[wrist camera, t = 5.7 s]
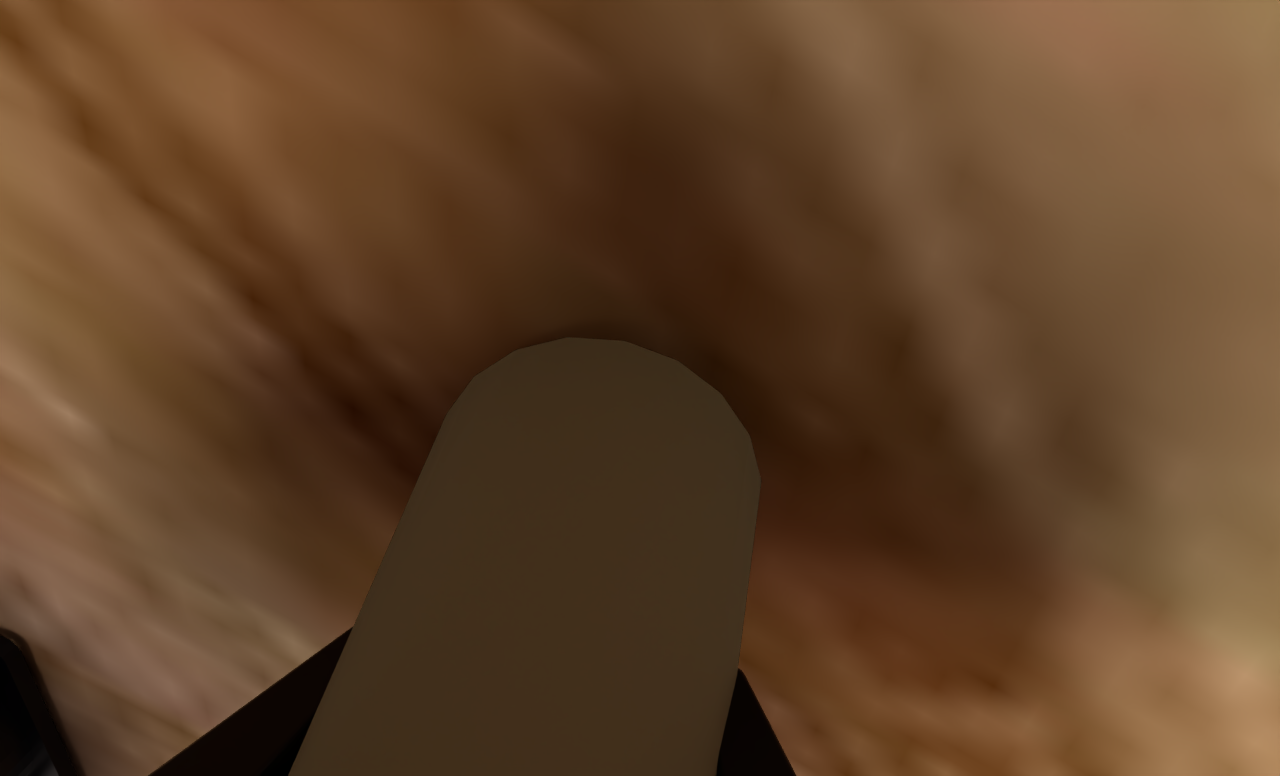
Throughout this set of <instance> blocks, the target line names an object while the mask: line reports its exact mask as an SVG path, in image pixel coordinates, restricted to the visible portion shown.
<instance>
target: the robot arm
mask: <svg viewBox="0 0 1280 776" xmlns="http://www.w3.org/2000/svg"><path fill="white" fill-rule="evenodd" d="M352 629H353V627H352V628H350V629H349V630H347V631H346V632H345V633H343V634H342V635H341V636H339V637H338V638H336V639H335V640H334V641H332V642H331V643H330V644H328V645H327V646H325V647H324V648H323V649H321V650H320V651H319V652H317V653H316V654H314V655H313V656H312V657H310V658H309V659H308V660H306V661H305V662H303V663H302V664H301V665H299V666H298V667H297V668H295V669H294V670H292V671H291V672H290V673H288V674H287V675H286V676H284V677H283V678H281V679H280V680H279V681H277V682H276V683H275V684H273V685H272V686H270V687H269V688H268V689H266V690H265V691H264V692H262V693H261V694H259V695H258V696H257V697H255V698H254V699H253V700H251V701H250V702H248V703H247V704H246V705H244V706H243V707H242V708H240V709H239V710H238V711H236V712H235V713H233V714H232V715H231V716H229V717H228V718H227V719H225V720H224V721H222V722H221V723H220V724H218V725H217V726H216V727H214V728H213V729H211V730H210V731H209V732H207V733H206V734H205V735H203V736H202V737H200V738H199V739H198V740H196V741H195V742H194V743H192V744H191V745H189V746H188V747H187V748H185V749H184V750H183V751H181V752H180V753H178V754H177V755H176V756H174V757H173V758H172V759H170V760H169V761H167V762H166V763H165V764H163V765H162V766H161V767H159V768H158V769H156V770H155V771H154V772H152V773H151V774H150V775H148V776H288V775H289V772H290V770H291V768H292V765H293V763H294V761H295V759H296V756H297V754H298V752H299V750H300V747H301V745H302V743H303V740H304V738H305V736H306V734H307V731H308V729H309V727H310V724H311V722H312V720H313V718H314V715H315V713H316V711H317V708H318V706H319V704H320V702H321V699H322V697H323V695H324V692H325V690H326V688H327V686H328V683H329V681H330V679H331V676H332V674H333V672H334V670H335V667H336V665H337V663H338V661H339V658H340V656H341V654H342V651H343V649H344V647H345V645H346V642H347V640H348V638H349V635H350V633H351V631H352ZM0 776H77V775H76V773H75V770H74V768H73V766H72V764H71V762H70V759H69V757H68V755H67V753H66V751H65V748H64V746H63V744H62V742H61V739H60V737H59V735H58V733H57V731H56V728H55V726H54V724H53V722H52V720H51V717H50V715H49V713H48V711H47V709H46V706H45V704H44V702H43V700H42V698H41V695H40V693H39V691H38V689H37V687H36V684H35V682H34V680H33V678H32V676H31V673H30V671H29V669H28V667H27V665H26V662H25V660H24V658H23V656H22V654H21V651H20V650H19V648H18V647H17V646H16V645H15V644H14V643H13V642H12V641H10V640H9V639H7V638H5V637H3V636H0ZM716 776H796V774H795V772H794V770H793V768H792V766H791V764H790V762H789V760H788V758H787V756H786V754H785V753H784V751H783V749H782V747H781V745H780V743H779V741H778V739H777V737H776V735H775V733H774V731H773V729H772V727H771V725H770V723H769V721H768V719H767V717H766V715H765V713H764V711H763V710H762V708H761V706H760V704H759V702H758V700H757V698H756V696H755V694H754V692H753V690H752V688H751V686H750V684H749V682H748V680H747V678H746V676H745V675H744V673H743V672H742V670H740V669H739V668H738V671H737V677H736V682H735V686H734V690H733V695H732V699H731V703H730V707H729V712H728V716H727V720H726V724H725V729H724V733H723V737H722V742H721V746H720V750H719V756H718V762H717V772H716Z"/></svg>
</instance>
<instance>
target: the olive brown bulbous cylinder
mask: <svg viewBox="0 0 1280 776" xmlns="http://www.w3.org/2000/svg"><path fill="white" fill-rule="evenodd" d="M760 488H761V477H760V473H759V469H758V466H757V462H756V458H755V454H754V450H753V446H752V442H751V438H750V435H749V434H748V432H747V431H746V429H745V428H744V426H743V425H742V423H741V422H740V420H739V419H738V418H737V416H736V415H735V413H734V412H733V410H732V409H731V407H730V406H729V404H728V403H727V401H726V400H725V399H724V397H723V396H722V394H721V393H720V392H718V391H717V390H716V389H714V388H713V387H712V386H710V385H709V384H708V383H706V382H705V381H704V380H703V379H701V378H700V377H699V376H697V375H696V374H695V373H693V372H692V371H691V370H689V369H688V368H687V367H686V366H684V365H683V364H682V363H680V362H679V361H677V360H675V359H672V358H669V357H667V356H664V355H661V354H659V353H656V352H653V351H651V350H648V349H645V348H642V347H640V346H637V345H634V344H632V343H629V342H626V341H620V340H604V339H589V338H573V337H567V338H563V339H558V340H554V341H550V342H546V343H542V344H538V345H534V346H530V347H526V348H521V349H517V350H515V351H513V352H512V353H510V354H509V355H507V356H505V357H504V358H502V359H501V360H499V361H498V362H496V363H495V364H493V365H491V366H490V367H488V368H487V369H485V370H484V371H482V372H480V373H479V374H477V375H476V376H474V377H473V379H472V380H471V381H470V383H469V384H468V385H467V387H466V388H465V389H464V391H463V392H462V394H461V395H460V396H459V398H458V399H457V400H456V402H455V403H454V404H453V406H452V407H451V408H450V410H449V411H448V412H447V414H446V416H445V419H444V421H443V423H442V425H441V428H440V430H439V432H438V435H437V437H436V439H435V441H434V444H433V446H432V448H431V451H430V453H429V455H428V457H427V460H426V462H425V464H424V467H423V469H422V471H421V473H420V476H419V478H418V480H417V482H416V485H415V487H414V489H413V492H412V494H411V496H410V498H409V501H408V503H407V505H406V508H405V510H404V512H403V514H402V517H401V519H400V521H399V524H398V526H397V528H396V530H395V533H394V535H393V537H392V540H391V542H390V544H389V546H388V549H387V551H386V553H385V556H384V558H383V560H382V562H381V565H380V567H379V569H378V571H377V574H376V576H375V578H374V581H373V583H372V585H371V587H370V590H369V592H368V594H367V597H366V599H365V601H364V603H363V606H362V608H361V610H360V613H359V615H358V617H357V619H356V622H355V624H354V626H353V629H352V631H351V633H350V635H349V638H348V640H347V642H346V645H345V647H344V649H343V651H342V654H341V656H340V658H339V661H338V663H337V665H336V667H335V670H334V672H333V674H332V676H331V679H330V681H329V683H328V686H327V688H326V690H325V692H324V695H323V697H322V699H321V702H320V704H319V706H318V708H317V711H316V713H315V715H314V718H313V720H312V722H311V724H310V727H309V729H308V731H307V734H306V736H305V738H304V740H303V743H302V745H301V747H300V750H299V752H298V754H297V756H296V759H295V761H294V763H293V765H292V768H291V770H290V772H289V775H288V776H716V772H717V762H718V756H719V750H720V746H721V742H722V737H723V733H724V729H725V724H726V720H727V716H728V712H729V707H730V703H731V699H732V695H733V690H734V686H735V682H736V677H737V671H738V663H739V655H740V647H741V639H742V631H743V623H744V615H745V607H746V599H747V591H748V583H749V575H750V567H751V559H752V551H753V543H754V535H755V528H756V520H757V512H758V504H759V496H760Z"/></svg>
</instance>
